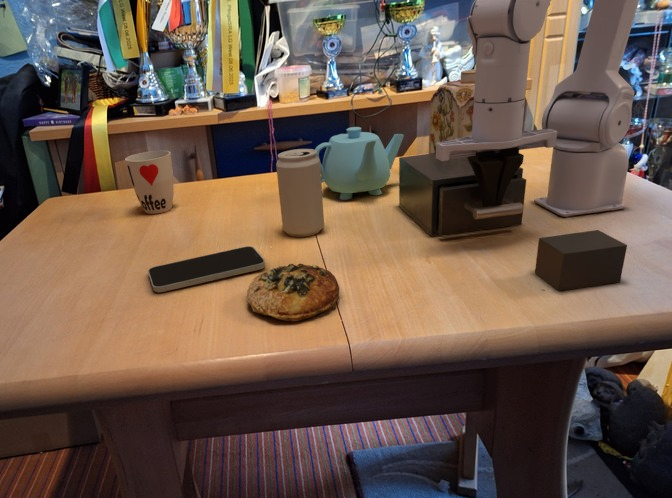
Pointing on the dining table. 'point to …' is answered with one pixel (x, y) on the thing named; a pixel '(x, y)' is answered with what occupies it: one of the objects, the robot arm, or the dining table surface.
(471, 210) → the dark drawer box
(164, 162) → the cup
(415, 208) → the small drawer cabinet
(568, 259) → the rectangular block
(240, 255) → the smartphone
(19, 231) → the dining table surface
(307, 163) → the beverage can
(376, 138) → the teapot
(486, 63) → the robot arm
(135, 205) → the dining table surface
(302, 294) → the bread roll
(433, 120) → the decorative jar
